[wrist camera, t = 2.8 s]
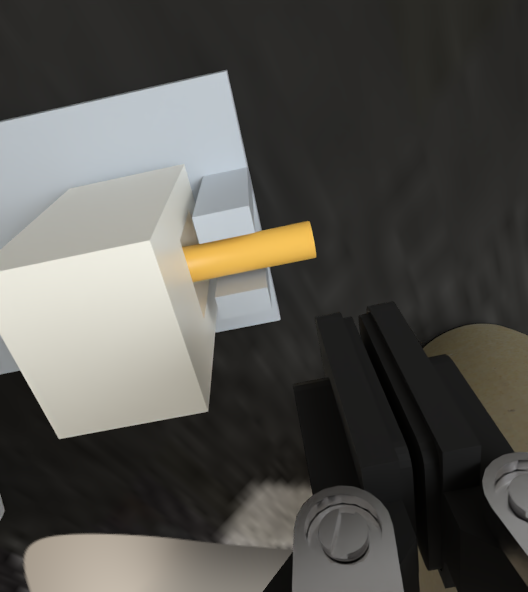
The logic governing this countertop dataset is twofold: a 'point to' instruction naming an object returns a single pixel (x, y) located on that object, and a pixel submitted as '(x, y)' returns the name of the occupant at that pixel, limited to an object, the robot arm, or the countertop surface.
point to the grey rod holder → (152, 156)
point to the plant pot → (487, 390)
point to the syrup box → (1, 508)
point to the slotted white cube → (111, 305)
